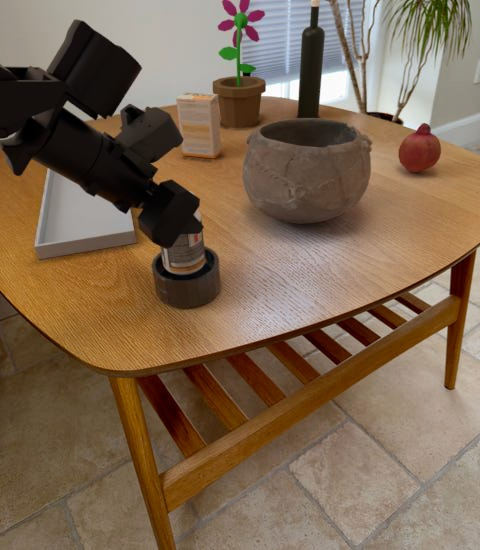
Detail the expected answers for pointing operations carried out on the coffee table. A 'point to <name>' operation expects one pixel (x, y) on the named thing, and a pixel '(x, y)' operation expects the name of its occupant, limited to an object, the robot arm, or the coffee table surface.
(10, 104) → the robot arm
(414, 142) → the fruit
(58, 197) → the serving dish
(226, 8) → the flowerpot
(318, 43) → the wine bottle
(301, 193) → the clay pot
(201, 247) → the pill bottle
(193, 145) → the supplement box
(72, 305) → the coffee table surface
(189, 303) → the charcoal bowl
